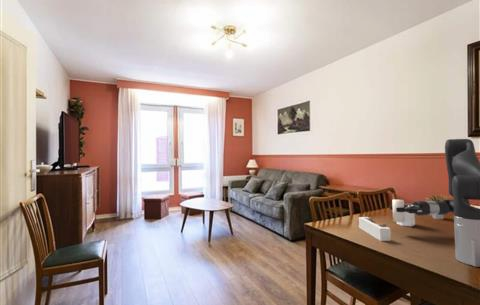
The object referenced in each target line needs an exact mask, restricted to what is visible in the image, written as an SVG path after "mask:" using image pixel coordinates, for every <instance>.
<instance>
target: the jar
mask: <svg viewBox="0 0 480 305" xmlns="http://www.w3.org/2000/svg"><path fill="white" fill-rule="evenodd" d="M404 204H409V202H408V203H407V202H404ZM410 204H411V205H412V204H413V203H410ZM404 214H405V222H396V224H397V225H398V226H401V227H411V228H412V227H413V226H415V225H416V220H415V219H416V218H415V216H416V214H415V213H408V212H407V213H406V212H404Z"/></svg>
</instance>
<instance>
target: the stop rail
mask: <svg viewBox="0 0 480 305" xmlns="http://www.w3.org/2000/svg"><path fill="white" fill-rule="evenodd" d="M368 217H369V216H359V217H358V228H359V229H361V230H362V231H364V232H366V233H367V234H368V235H370V236H371V237H374V238H375V239H377V240H378V241H380V242H390V241H392V239H391V236H392V235H391V228H390V227H388V226H387V227H380V226H378V225H376V224H377V223H375V222H374V221H373V222H371V221H369V218H368Z"/></svg>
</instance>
